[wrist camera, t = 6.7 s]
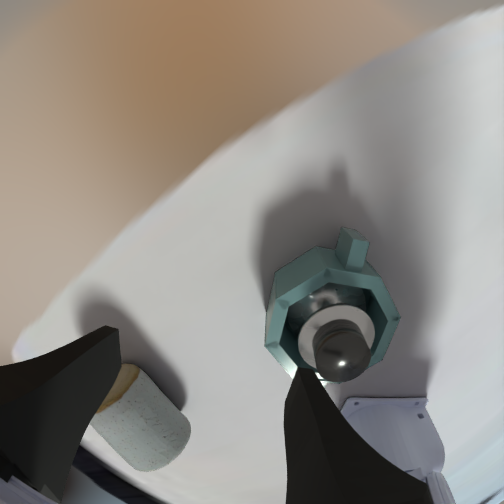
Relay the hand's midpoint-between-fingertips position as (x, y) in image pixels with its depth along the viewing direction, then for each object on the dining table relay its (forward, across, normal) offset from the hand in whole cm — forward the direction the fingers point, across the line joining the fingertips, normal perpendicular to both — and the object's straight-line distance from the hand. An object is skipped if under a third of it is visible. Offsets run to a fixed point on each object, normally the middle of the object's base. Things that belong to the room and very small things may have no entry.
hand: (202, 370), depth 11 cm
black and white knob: (+10, -7, +1) cm, 12 cm away
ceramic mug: (+11, +8, +15) cm, 20 cm away
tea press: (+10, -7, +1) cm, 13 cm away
